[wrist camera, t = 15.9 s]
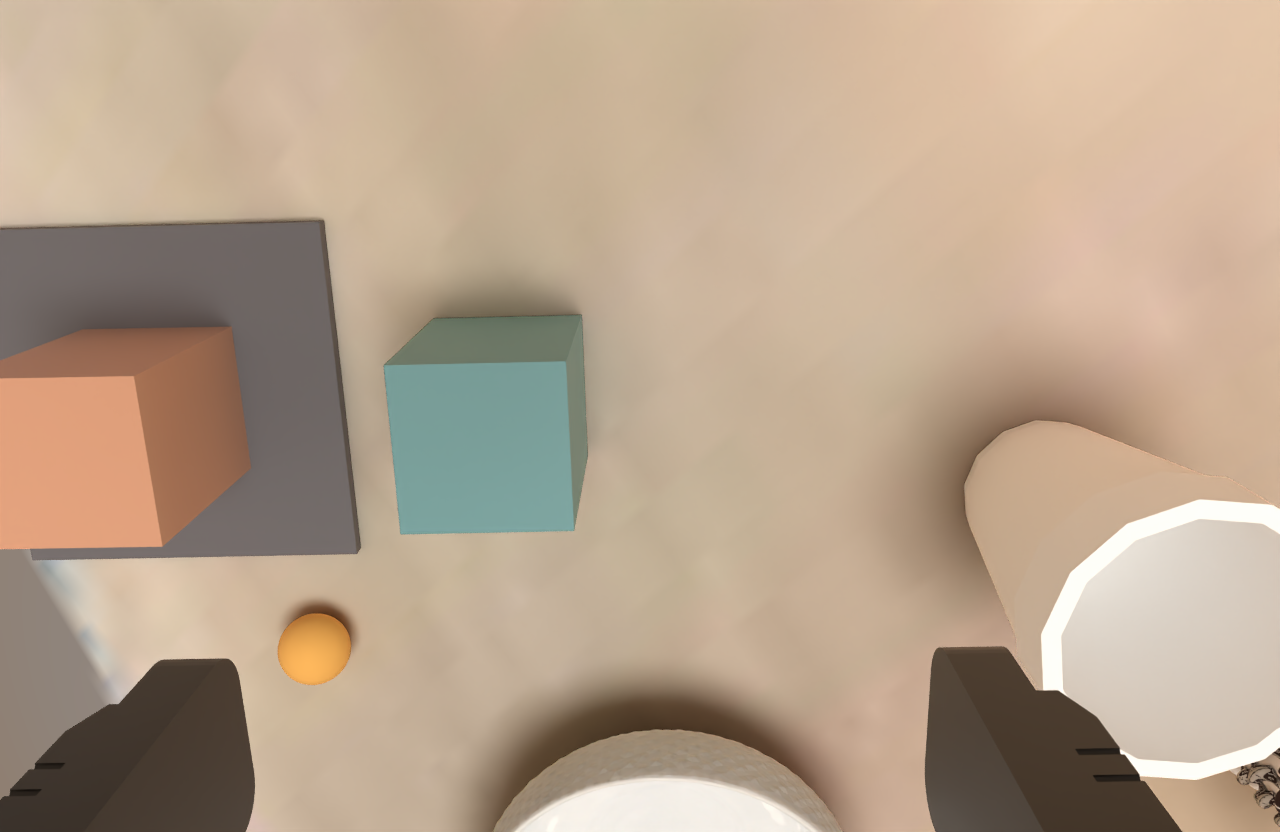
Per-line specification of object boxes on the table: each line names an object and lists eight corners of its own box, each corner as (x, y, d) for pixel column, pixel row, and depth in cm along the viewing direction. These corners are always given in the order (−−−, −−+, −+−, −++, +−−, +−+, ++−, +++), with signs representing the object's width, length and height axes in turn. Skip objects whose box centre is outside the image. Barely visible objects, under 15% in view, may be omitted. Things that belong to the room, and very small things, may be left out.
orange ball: (287, 601, 45) (262, 635, 42) (355, 600, 45) (335, 634, 42) (296, 662, 45) (272, 699, 43) (362, 661, 45) (343, 698, 43)
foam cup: (960, 619, 45) (1081, 815, 32) (898, 432, 42) (1002, 566, 30) (1174, 547, 43) (1385, 722, 31) (1122, 351, 41) (1329, 455, 29)
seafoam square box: (433, 318, 41) (383, 365, 33) (581, 315, 41) (565, 361, 33) (445, 458, 43) (400, 534, 35) (587, 455, 43) (574, 530, 35)
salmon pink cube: (82, 329, 41) (-50, 379, 33) (231, 326, 40) (133, 376, 33) (108, 470, 42) (-12, 549, 35) (251, 468, 42) (162, 546, 35)
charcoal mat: (-29, 229, 40) (-38, 231, 39) (323, 220, 40) (318, 222, 39) (40, 554, 44) (32, 560, 43) (360, 548, 44) (357, 554, 43)
